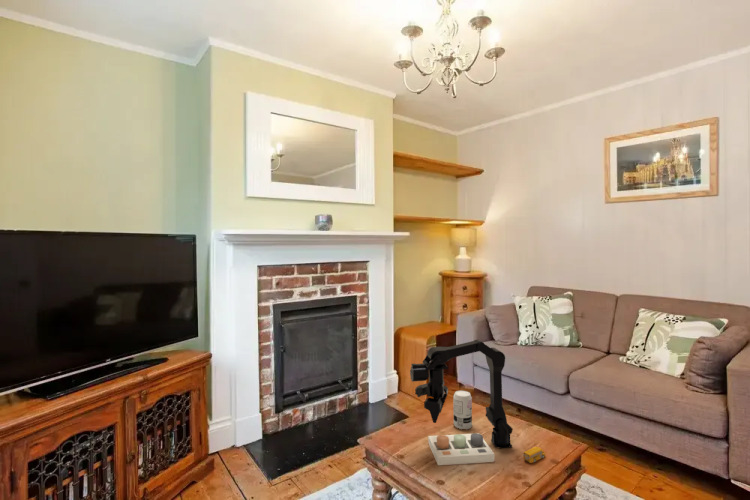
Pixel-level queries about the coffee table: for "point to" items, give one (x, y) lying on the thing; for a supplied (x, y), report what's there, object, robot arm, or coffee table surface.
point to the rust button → (442, 442)
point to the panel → (460, 452)
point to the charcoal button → (476, 440)
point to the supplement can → (462, 409)
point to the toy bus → (533, 454)
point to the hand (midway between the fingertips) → (436, 417)
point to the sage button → (459, 441)
